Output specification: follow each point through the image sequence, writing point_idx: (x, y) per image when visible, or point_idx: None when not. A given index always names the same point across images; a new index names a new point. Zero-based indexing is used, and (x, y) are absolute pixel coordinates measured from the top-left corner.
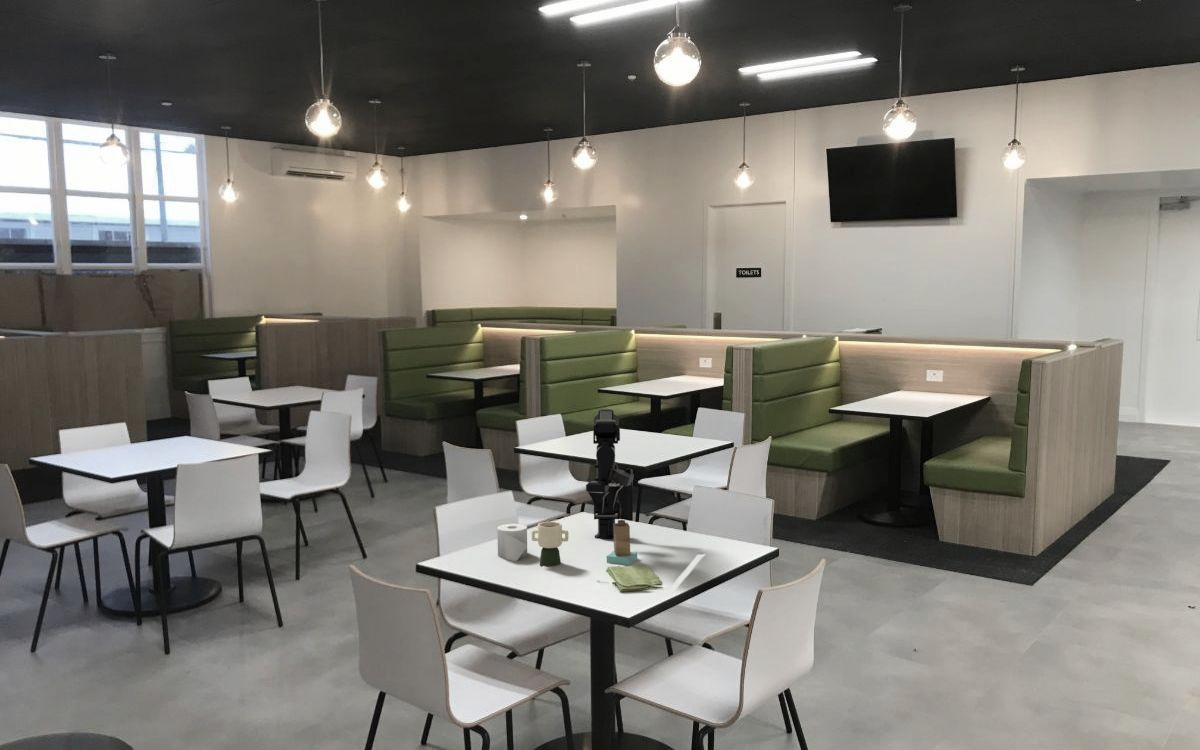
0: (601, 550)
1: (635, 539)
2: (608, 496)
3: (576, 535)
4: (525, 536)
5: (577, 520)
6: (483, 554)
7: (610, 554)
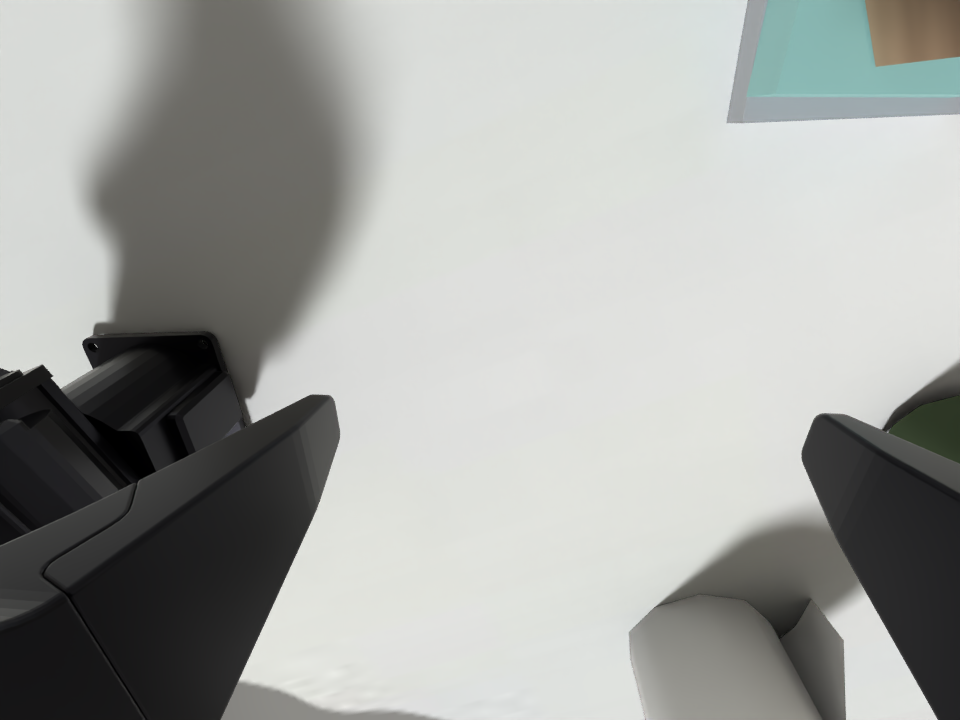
0: (492, 303)
1: (108, 177)
2: (232, 630)
3: None
4: (759, 701)
5: None
6: None
7: (948, 77)
